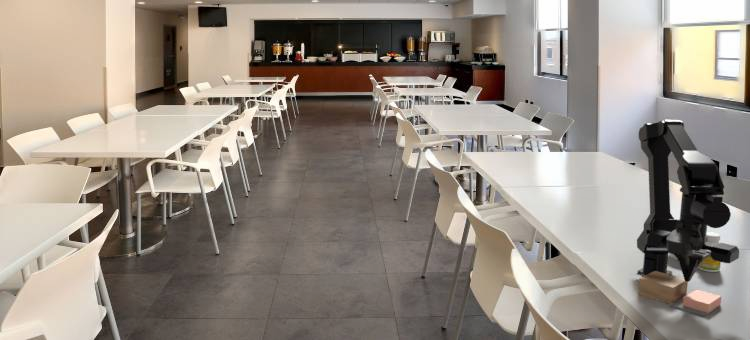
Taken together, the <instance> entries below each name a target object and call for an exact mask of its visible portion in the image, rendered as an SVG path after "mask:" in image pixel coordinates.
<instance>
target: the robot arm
mask: <svg viewBox="0 0 750 340" xmlns="http://www.w3.org/2000/svg"><path fill="white" fill-rule="evenodd" d="M638 140H639V141H640V148H641V151H642V152H643V153H644V154H645V155H646V157H647V162H648V164H647V165H648V167H647V168H648V189H649V191H648V192H649V193H648V194H649V215H648V216H647V217H646V219H645V221H644V223H643V230H642V231H641V233H640V235H639V236H638V237H637V238H636V247H637V249H638V250H639V251H640V252H641V253H643V264H642V266H643V267H642V268H640V269H637V270H636V271H637V274H640V275H643V276H645V275H647V274H649V273H651V272H653V271H658V272H662V273H665V274H669V275H672V274H673V271H672V270H669V269H668V261H669V253H671V254H674V255H675V256H676V257H677V259H678V260H677V261H678V263H679V266H680V268H681V269H680V270H681V272H682V276H683V278H684V280H685V281H687V282H688V283H689V282H691V280H692V279H693V276H694V275H695V273H696V271H698V266H699V265H700V263H701V262H702V261H703V260H704V259H706V258H708V257H710V256H711V258H712V259H713V260H715V261H719V262H721V263H724V264H731V263H733V262H735V261H736V260H739V257H740V249H739V248H738V246H737V245H734V244H729V243H724V242H720V243H719V244H717V245H715V246H712V245H707V244H705V242H707V241H708V237H706V233H707V232H708V227H709V228H711V229H719V228H722V227H724V226H726V225H727V224H728V222H729V220H730V219H731V215H732V214H731V213H732V212H731V210H730V208H729V206H728V205H727V204H726V203H724V202H723V199H724V198H723V196H724V195H725V192H724V191H725V190H724V189H725V185H724V183H723V180H722V177H721V174H720V170H719V167H718V166H717V165H716V163H715V162H714V161H713V159H711V157H709V156H707V155H705V154H703V153H701V152H700V151H699V150H698V148H697V147H696V145H695V144H694V142H693V140H692V139H691V137H690V136H689V134H688V133H687V131H686V129H685V124H684V122H683V120H680V119H663V120H660V121H657V122H653V123H649V122H648V123H644V124H643V126H641V127H640V128H639V130H638ZM671 153H672V155H673V156H674V158H675V160H676V161H677V164H678V168H677V171H676V173H677V178H678V181H679V183H680V186H681V187H680V188H679V192H680V193H681V201H680V202H681V203H680V211H679V219H675V218H674V216H673V215H672V213H671V200H670V199H671V196H670V194H671V191H670V173H669V171H670V169H669V156H670V155H671ZM692 251H693V254H692Z"/></svg>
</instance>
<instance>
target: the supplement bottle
mask: <svg viewBox="0 0 750 340" xmlns="http://www.w3.org/2000/svg"><path fill="white" fill-rule="evenodd" d="M706 237H708V241H707V242H705V244H707V245H712V246H715V245H717V244H719V243H721V242H720V240H721V234H720V233H717V232H713V231H711V232H710V231H707V233H706ZM721 263H722V262H719V261H715V260H713V259H712V258H711V256H710V257H708V258H706V259H704V260H703V261H702V262H701V263H700V265H699V266H698V268H697V270H700V271H702V272H707V273H717V272H719V271H720V270H721Z"/></svg>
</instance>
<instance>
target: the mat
mask: <svg viewBox="0 0 750 340" xmlns="http://www.w3.org/2000/svg"><path fill="white" fill-rule="evenodd" d="M684 297H685V296H684ZM684 297H682V298H680V299H679V300H677V301H675V302H674V303H672V304H669V307H672V308H675V309H678V310H682V311H684V312H689V313H692V314H695V315H698V316H702V317H705V316H707V315H708V314H710V313H711V312H713V311H714V310H716V309H717V308H719V307H721V304H720V305H719V306H717V307H716V308H714V309H713V310H711V311H710V312H708V313H707V312H704V311H700V310H697V309H693V308H690V307H687V306H683V298H684Z"/></svg>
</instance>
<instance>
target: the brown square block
mask: <svg viewBox="0 0 750 340" xmlns="http://www.w3.org/2000/svg"><path fill="white" fill-rule="evenodd" d="M638 280H639V281H638V289H637V290H638V291H637V294H638V295H639V296H642V297H646V298H650V299H653V300H656V301H659V302H664V303H666V304H669V305H670V304H672V303H674V302H675V301H677V300H679V299H680V298H682V297H684V296H686V295H688V294H687V293H688V284H689V282H687V281H685V280H684V277H680V276H677V275H672V274H670V275H669V274H665V273H662V272H658V271H653V272H651V273H649V274H647V275H643V276H642V277H639V279H638Z"/></svg>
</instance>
